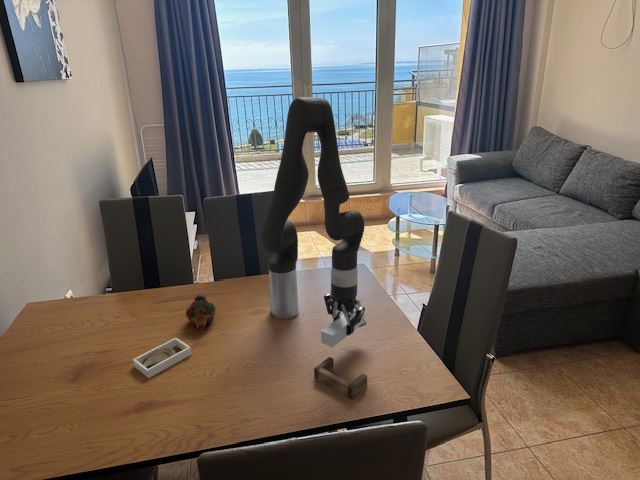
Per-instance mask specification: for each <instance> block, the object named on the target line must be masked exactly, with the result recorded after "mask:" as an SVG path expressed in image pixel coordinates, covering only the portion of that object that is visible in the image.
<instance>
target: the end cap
mask: <svg viewBox="0 0 640 480" xmlns="http://www.w3.org/2000/svg"><path fill="white" fill-rule="evenodd" d="M334 363H335V362H334V358H333V357H330V356H328V357H327V358H326V359H325V360H322V362H320V363H319V364H318V365H316V366H315V367H314V368H313V374H314V375H313V376H314V377H313V378H314V380H316V381H317V382H319V383H322V384H323V385H325V386H327V387H329V388H331V389H332V390H334V391H336V392H338V393H340V395H341V394H342V395H343V396H344V397H347V398H349V399H350V400H354V399H355V398H356V397H357V396H358V395H359V394H361V392H362V391H364V390H365V389H366V388H367V387H368V375H367V374H365V373H361V374H360V375H359V376H357V377H356V378H355V379H354V380H353V381H351V382H350V381H348V380H346V379H345V378H343V377H340V376H339V375H337V374H335V373H332V371H334V365H335V364H334Z"/></svg>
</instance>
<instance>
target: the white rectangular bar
mask: <svg viewBox="0 0 640 480" xmlns="http://www.w3.org/2000/svg"><path fill="white" fill-rule="evenodd" d="M354 310H355V308H354ZM349 313H350V312H349ZM340 316H341V317H339V318H338V319H337V320H335V321H334V322H331V323H329V324H328V325H327V326H326V327H324V328H323V329H321V331H320V333H321V334H320V336H321V337H320V338H321V339H320V340H321V341H320V343H322V344H324V345H326V346H329V347H330V348H334V347H335V346H337V345H338V344H339V343H340V342H342V341H343V340H344V339H345V338H347V337H348V335H347V321H346V318H345V317H344V313H343V314H342V315H340ZM354 316H355V315H354ZM350 320H351V317H350ZM364 320H365V313H364V314H363V316H362V319H361V321H360V323H358V324H357V325H355V326H354V331H355V330H356V329H358V328H359V327H360V326H361V324H363V323H364Z"/></svg>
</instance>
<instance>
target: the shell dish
mask: <svg viewBox="0 0 640 480" xmlns="http://www.w3.org/2000/svg"><path fill="white" fill-rule="evenodd" d="M168 347H170V348H172V349H174V348H175V347H177V348H179V349H180V350H181V351H178V352H176V353H177V354H175V355H173V356H171V357H169V358H167V359H166V360H164V361H162V362H160V363H157V364H153V365H152V366H151V367H149V368H148V367H145V366H144V365H142V364H141V363H142V362H143V361H144V360H145V359H146V358H147V357H148V356H149V355H151V354H152V353H154V352H155V351H157V350H159V349H164V348H168ZM192 354H193V352H192V347H191V346H190V345H188V344H186V343H185V342H184V341H182V340H181V339H178V337H174V338H172V339H170V340H168V341H166V342H164V343H162V344H161V345H158V346H157V347H155V348H153V349H150V350H148V351H147V352H145V353H142V354H141V355H139V356H136V357H135V358H133V359H132V363H133V368H135V369H137V370H138V371H139V372H140V373H141V374H142V375H144V376H145V377H147V379H149V378H152V377H154V376H155V375H157V374H160V373H161V372H163V371H164V370H166V369H168V368H169V367H172V366H174V365H175V364H177V363H179V362H181V361H182V360H185V359H186V358H187V357H190V356H192Z"/></svg>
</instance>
